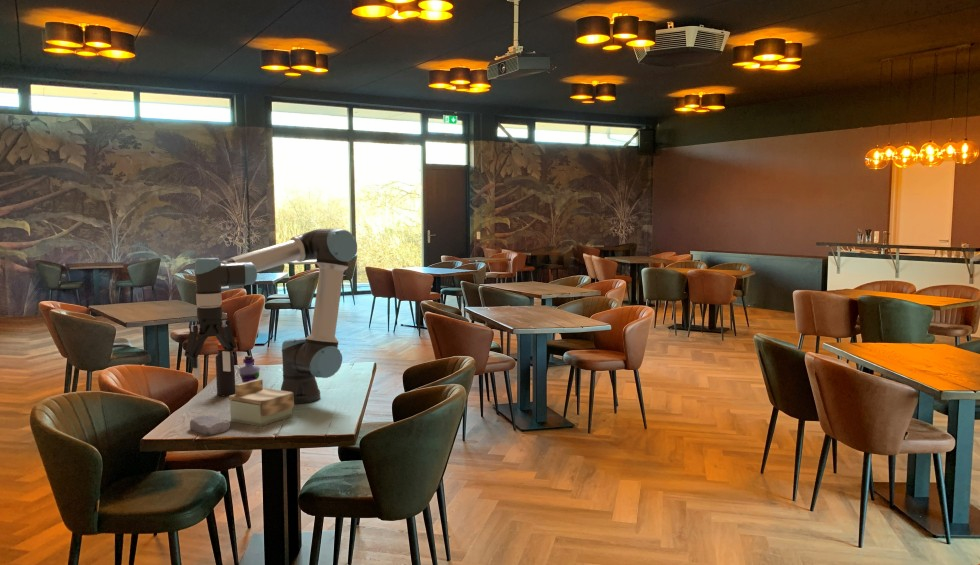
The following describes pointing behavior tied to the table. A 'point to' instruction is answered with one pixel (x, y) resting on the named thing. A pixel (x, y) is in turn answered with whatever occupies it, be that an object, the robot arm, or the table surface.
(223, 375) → the vinegar
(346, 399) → the table surface
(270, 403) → the lid
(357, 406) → the table surface
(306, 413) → the table surface
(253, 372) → the potion bottle
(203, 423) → the stone block
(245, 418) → the cream box
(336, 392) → the table surface
